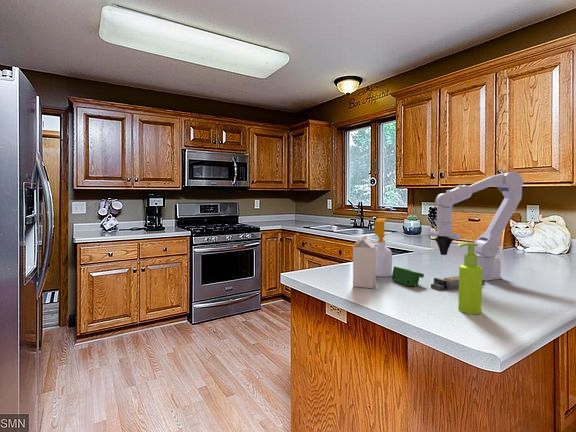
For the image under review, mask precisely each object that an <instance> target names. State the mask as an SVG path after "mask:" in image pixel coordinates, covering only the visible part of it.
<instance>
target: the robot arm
mask: <svg viewBox="0 0 576 432" xmlns="http://www.w3.org/2000/svg"><path fill="white" fill-rule="evenodd" d="M524 183H525V181H524V179H523V177H522V175H521V174H520V173H519V172H517V171H510V172H505V173H504V172H501V173H498V174H496V175H495V174H494V175H491V176H489V177H486V178H484V179H482V180H480V181H477V182H475V183H473V184H471V185H468V184H467V185H466V184H463V185H462V184H458V185H457V187H455V188H453V189H448V190H445V191H446V192H445V193H439V194H438V195H437V196H436V198H435V200H434V203H435V204H436V206H437V208H436V230H429V231H428V236H429V237H431V236H432V237H435V238H434V240H435V242H436V243H437V246H438V249H439V254H440V255H441V256H447V255H448V251H449V249H450V246H451V244H452V243H453V241H454V239H455V240H461V239H462V235H461V234H460V233H456V232H455V233H454V232H452V231H453V206H454V205H455V204H458V203H460V202H462V201H465V200H467V199H469V198H471V197H472V195H473V193H477V192H479V191H483V190H485V189H487V188H490V187H496V188H497V189H498V190H499V191H500V193H502V196H503V197H504V199H502V201H501V204H500V206H499V207H498V209H497V210H496V212H495V213H494V216H493V217H492V220H491V221H490V223H489V225H488V227H487V229H486V230H485V232H483V233H481V234H480V235H479V237H478V238H477V239H476V240H475V241H474V242H473V243H475V244H478V246H474V253H475V254H476V255H478V260H477V266H480V267H482V280H485V281H492V280H499V279H503V277H502V276H501V269H502V268H501V266H502V263H501V260H500V258H499V257H498V256H497V254H498V253H499V247H500V244H501V239H500V237H501V235H502V234H503V231H504V230H505V228H506V226H508V223H509V221H510V220H511V218H512V216H513V215H514V212H515V211H516V209H517V208H518V206H519V203H520V202H521V200H522V197H523V184H524Z"/></svg>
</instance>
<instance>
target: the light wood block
mask: <svg viewBox="0 0 576 432" xmlns="http://www.w3.org/2000/svg"><path fill="white" fill-rule="evenodd" d="M454 279H457V280H459V275H458V276H449V277H448V276H446V277H443V280H454Z"/></svg>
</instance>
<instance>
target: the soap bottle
mask: <svg viewBox="0 0 576 432" xmlns="http://www.w3.org/2000/svg"><path fill="white" fill-rule="evenodd" d="M386 221H387V218H386V217H377V218H376V219H375V221H374V236H377V238H378V240H376V245H375V246H376V266H375V277H377V276H378V278H389V277H392V273H393V252H392V250H391V249H390V248H389V247H387V246H386V240H384V238H385V236H386V235H388V234H387V233H385V223H386ZM388 276H389V277H388Z"/></svg>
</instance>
